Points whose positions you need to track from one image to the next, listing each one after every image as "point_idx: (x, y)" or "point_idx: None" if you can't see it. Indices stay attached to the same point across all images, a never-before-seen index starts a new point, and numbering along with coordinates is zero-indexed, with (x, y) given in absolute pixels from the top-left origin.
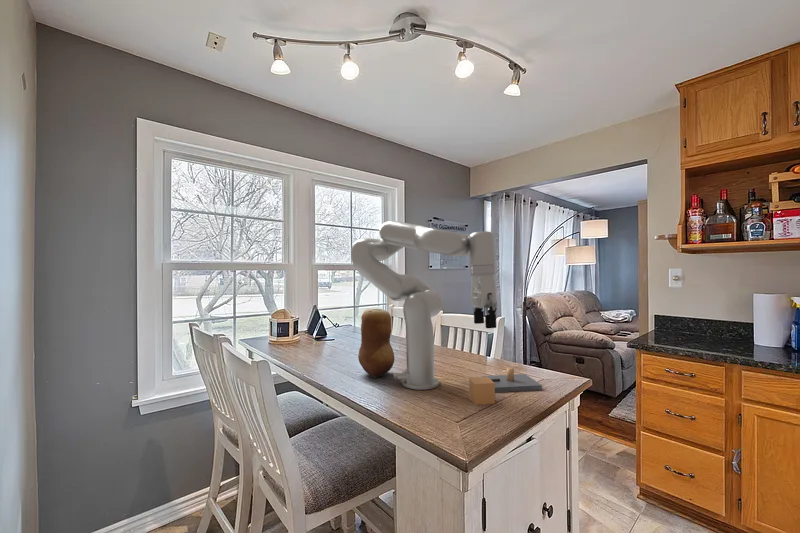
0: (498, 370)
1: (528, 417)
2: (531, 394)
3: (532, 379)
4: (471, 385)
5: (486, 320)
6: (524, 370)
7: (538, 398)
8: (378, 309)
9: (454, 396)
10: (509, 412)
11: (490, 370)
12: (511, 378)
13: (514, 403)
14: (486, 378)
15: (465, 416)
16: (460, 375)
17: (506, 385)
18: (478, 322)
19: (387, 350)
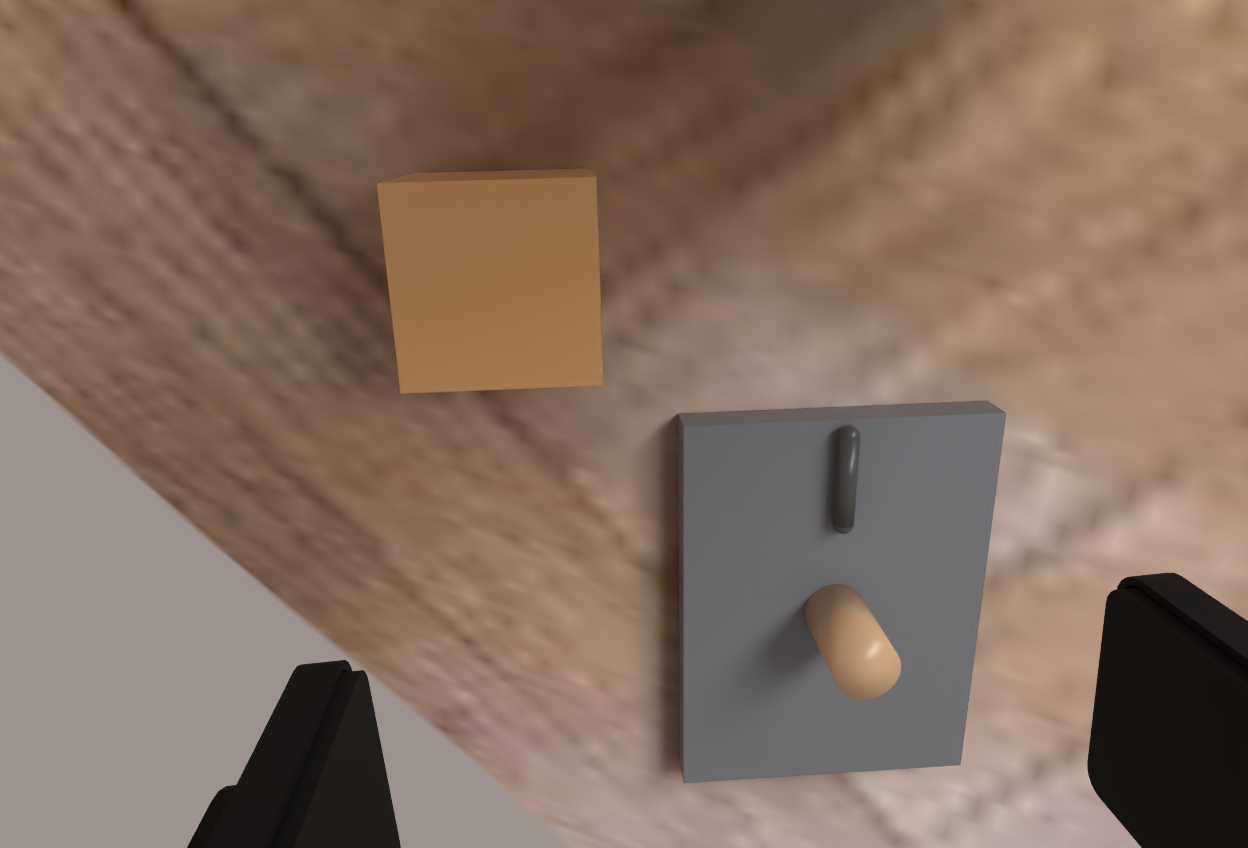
0: None
1: (172, 495)
2: (600, 663)
3: (821, 769)
4: (498, 176)
5: (238, 815)
6: None
7: (518, 679)
8: None
9: (623, 30)
10: (257, 397)
11: (1222, 550)
12: (811, 624)
13: (431, 490)
14: (552, 358)
15: (159, 16)
16: (1179, 239)
17: (719, 542)
18: (1115, 671)
19: None
